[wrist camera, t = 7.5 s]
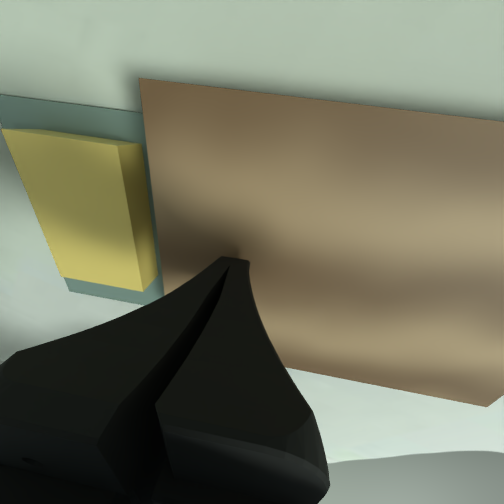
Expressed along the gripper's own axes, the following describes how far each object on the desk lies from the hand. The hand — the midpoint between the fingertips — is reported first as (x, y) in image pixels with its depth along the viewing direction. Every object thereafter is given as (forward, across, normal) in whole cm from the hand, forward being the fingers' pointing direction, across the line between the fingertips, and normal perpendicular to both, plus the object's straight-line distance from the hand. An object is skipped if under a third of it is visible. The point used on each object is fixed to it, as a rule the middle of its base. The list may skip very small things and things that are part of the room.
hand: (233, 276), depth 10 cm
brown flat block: (+5, -6, 0) cm, 8 cm away
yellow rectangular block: (+2, +10, 0) cm, 10 cm away
